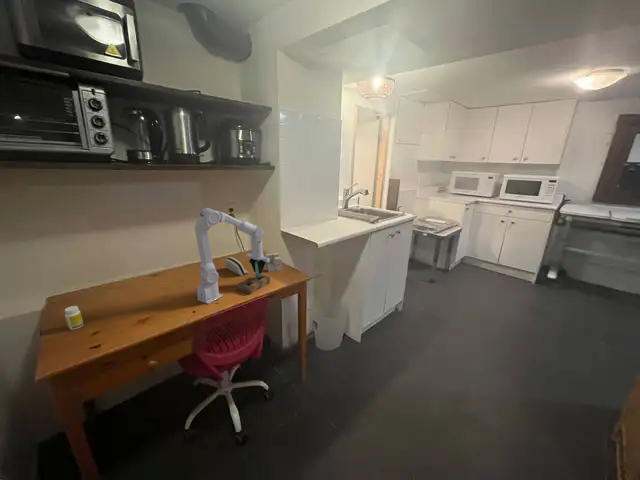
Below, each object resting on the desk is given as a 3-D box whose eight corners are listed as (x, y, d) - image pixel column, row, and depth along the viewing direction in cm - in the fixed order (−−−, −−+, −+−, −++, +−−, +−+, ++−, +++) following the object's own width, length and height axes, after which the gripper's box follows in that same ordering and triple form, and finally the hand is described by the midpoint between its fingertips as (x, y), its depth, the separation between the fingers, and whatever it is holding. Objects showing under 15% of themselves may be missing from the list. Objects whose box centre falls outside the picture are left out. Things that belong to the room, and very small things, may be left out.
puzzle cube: (259, 265, 179) (259, 254, 177) (278, 263, 183) (277, 252, 180) (261, 272, 168) (261, 260, 166) (281, 270, 172) (281, 258, 169)
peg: (259, 278, 150) (258, 263, 148) (254, 277, 152) (253, 262, 149) (262, 276, 153) (261, 261, 150) (258, 275, 154) (257, 260, 151)
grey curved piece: (249, 273, 166) (243, 260, 161) (242, 278, 164) (236, 264, 158) (234, 266, 177) (228, 253, 172) (228, 270, 174) (221, 257, 169)
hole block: (250, 294, 141) (250, 288, 140) (237, 290, 145) (236, 284, 144) (270, 282, 155) (269, 276, 154) (257, 279, 159) (257, 273, 158)
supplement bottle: (86, 323, 115) (82, 305, 113) (77, 330, 111) (72, 311, 108) (74, 323, 115) (69, 305, 113) (65, 330, 110) (59, 311, 108)
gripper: (272, 248, 148) (273, 272, 152) (251, 244, 154) (253, 267, 158) (264, 252, 142) (265, 276, 146) (242, 247, 148) (244, 271, 152)
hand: (258, 272), depth 151 cm, fingers closed on peg, 3 cm apart
